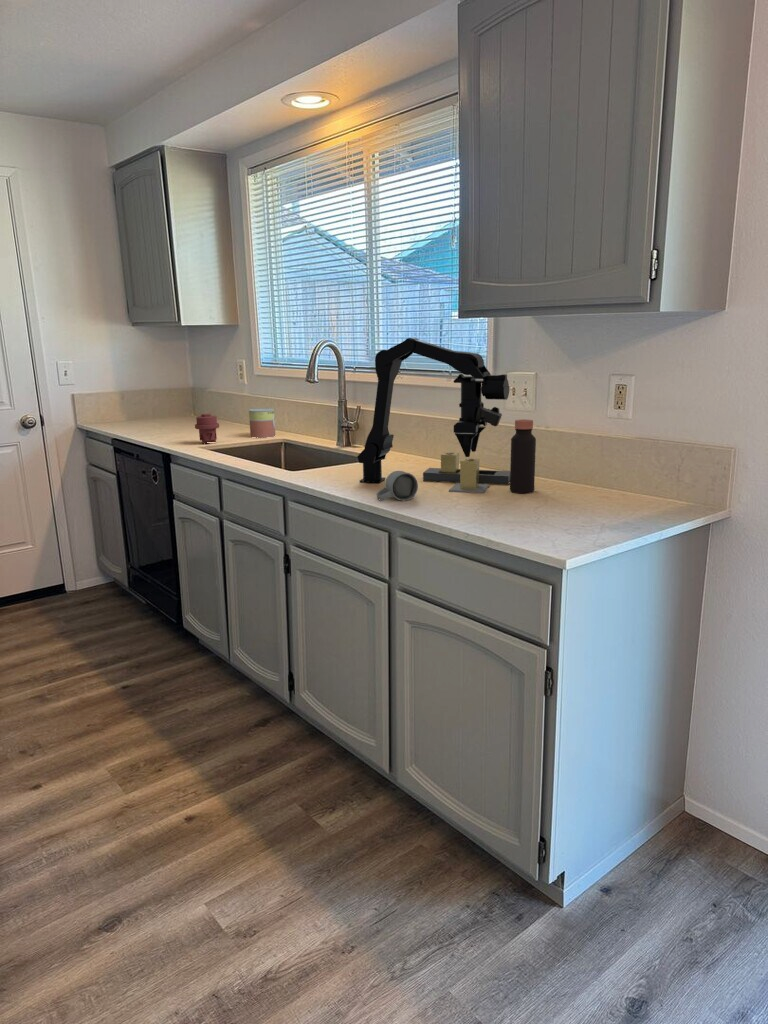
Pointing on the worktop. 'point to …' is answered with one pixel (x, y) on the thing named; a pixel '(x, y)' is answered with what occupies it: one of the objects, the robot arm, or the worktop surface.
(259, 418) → the canned food
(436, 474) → the rack rail
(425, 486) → the worktop surface
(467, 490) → the grey pad
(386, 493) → the ceramic mug
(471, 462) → the olive beige rectangular block
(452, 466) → the khaki square post block
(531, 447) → the bottle
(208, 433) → the mechanical component
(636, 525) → the worktop surface
